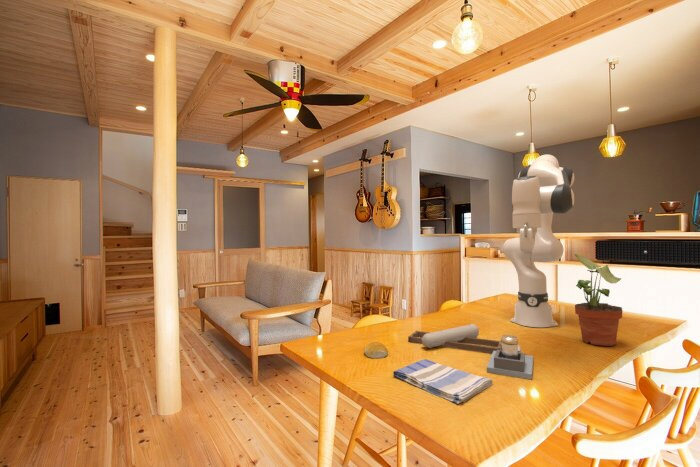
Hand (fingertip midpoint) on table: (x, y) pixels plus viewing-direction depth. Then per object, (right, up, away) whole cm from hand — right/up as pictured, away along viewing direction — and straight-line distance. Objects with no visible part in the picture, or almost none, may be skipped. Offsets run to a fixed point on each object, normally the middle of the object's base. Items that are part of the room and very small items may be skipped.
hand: (527, 263), depth 117 cm
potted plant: (+31, -31, +8) cm, 44 cm away
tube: (-23, -31, +13) cm, 41 cm away
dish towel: (-35, -33, -19) cm, 52 cm away
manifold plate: (-11, -31, -10) cm, 35 cm away
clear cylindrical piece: (-12, -30, -13) cm, 35 cm away
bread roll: (-52, -33, +4) cm, 62 cm away
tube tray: (-22, -32, +12) cm, 40 cm away
